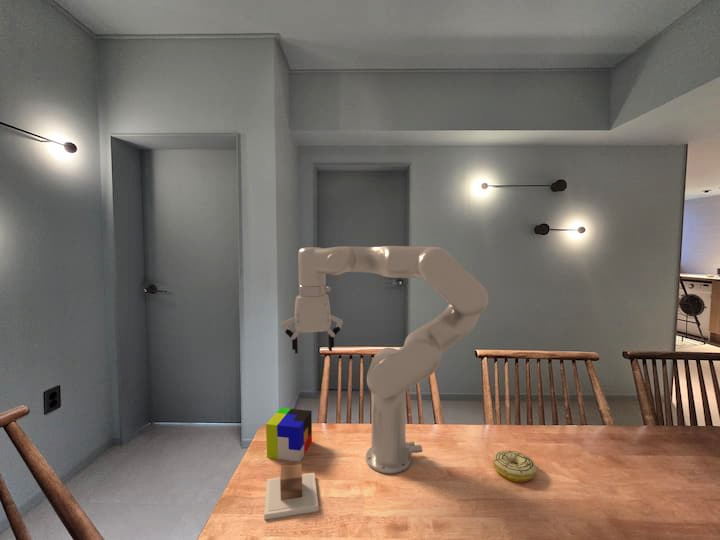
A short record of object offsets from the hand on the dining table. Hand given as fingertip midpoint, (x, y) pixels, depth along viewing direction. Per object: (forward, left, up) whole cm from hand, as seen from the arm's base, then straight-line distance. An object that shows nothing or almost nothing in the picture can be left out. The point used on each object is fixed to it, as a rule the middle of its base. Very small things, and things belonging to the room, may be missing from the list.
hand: (313, 350), depth 101 cm
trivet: (+7, +17, -30) cm, 35 cm away
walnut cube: (+7, +17, -29) cm, 34 cm away
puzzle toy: (+7, -3, -31) cm, 32 cm away
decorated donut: (-52, +20, -31) cm, 63 cm away
